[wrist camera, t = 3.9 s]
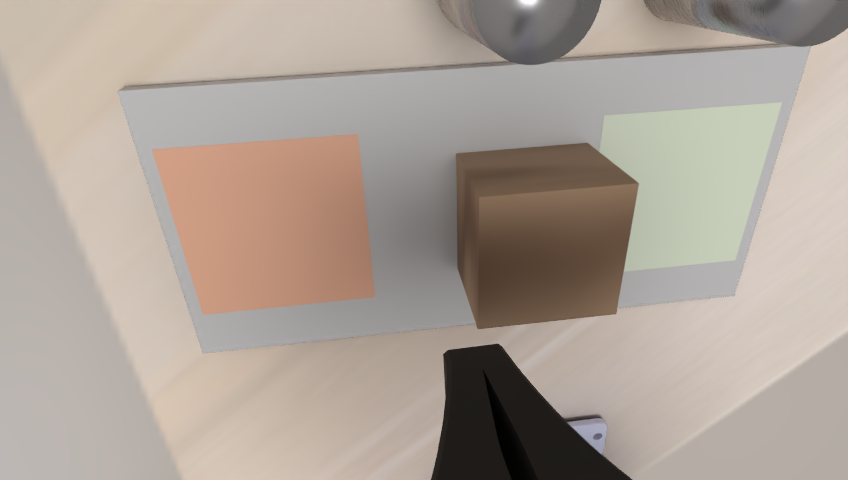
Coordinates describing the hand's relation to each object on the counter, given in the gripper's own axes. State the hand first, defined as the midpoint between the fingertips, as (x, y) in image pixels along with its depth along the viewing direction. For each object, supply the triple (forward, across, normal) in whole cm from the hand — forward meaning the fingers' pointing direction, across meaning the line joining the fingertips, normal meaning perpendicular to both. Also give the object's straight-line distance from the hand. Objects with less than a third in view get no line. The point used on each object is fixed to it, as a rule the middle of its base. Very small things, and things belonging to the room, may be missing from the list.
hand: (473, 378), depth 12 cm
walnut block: (+9, -4, 0) cm, 9 cm away
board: (+9, -2, 0) cm, 10 cm away
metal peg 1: (+9, -2, -8) cm, 13 cm away
